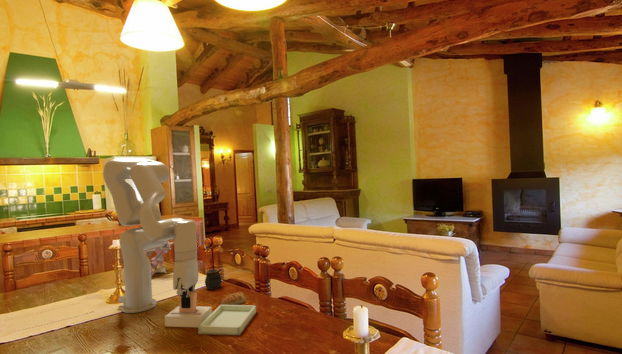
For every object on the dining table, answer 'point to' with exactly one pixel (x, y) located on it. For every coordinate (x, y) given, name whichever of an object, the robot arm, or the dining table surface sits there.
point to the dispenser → (187, 317)
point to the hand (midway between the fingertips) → (188, 305)
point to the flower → (158, 257)
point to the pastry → (234, 299)
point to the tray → (227, 320)
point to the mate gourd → (213, 279)
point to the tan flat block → (192, 302)
